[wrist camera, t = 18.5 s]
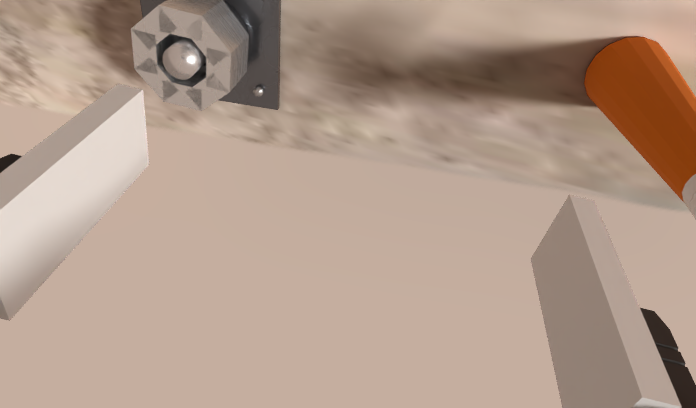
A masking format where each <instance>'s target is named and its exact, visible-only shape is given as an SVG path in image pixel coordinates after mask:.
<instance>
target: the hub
mask: <svg viewBox="0 0 696 408" xmlns="http://www.w3.org/2000/svg"><path fill="white" fill-rule="evenodd" d="M165 1H166V0H140V2H141V9H142V15H143V18H144V17H145V16H146V15H148V14H149V13H150V12H151V11H152V10H153V9H155V8H156V7H157V6H158V5H160V4H161V3H163V2H165ZM223 1H224V2H225V3H226V5H227V6H228V7H229V9H230V10H231V12H232V13H233V14H234V16H235V17H236V18H237V20H238V21H239V22H240V24H241V25H242V26H243V28H244V29H245V30H246V32H247V33H248V34H249V44H248V59H247V72H246V73H245V74H244V76H243V77H242V78H241V79H240V80H239V82H238V83H237V84H236V85H235V86H234V88H233V89H232V90H231V91H230V92H229V93H228V94H226V95H225V96H223V97H222V98H220V99H219V100H220V101H226V102H232V103H238V104H244V105H250V106H257V107H263V108H269V109H275V110H278V109H279V85H280V15H281V0H223ZM163 64H164V67H165V68H166V70H167V71H168V72H169V73H170V74H171V75H172V76H173V77H175V78H178V79H182V80H185V79H189V78H191V77H192V76H193V75H194V74H195V73H196V72H197V71H198V70H199V69H200V68H201V67H202V66H203V65H205V66H206V56H205V55H204V54H203V53H202V51H201V50H200V49H199V48H198V46H197V45H196V44H195V43H194V41H193V40H192V39H190V38H186V37H182V36H180V39H179V40H178V41H177V42H175V43H174V44H173V45H171V46H170V47H169V48H168V49H166V50H165V52H164V54H163Z"/></svg>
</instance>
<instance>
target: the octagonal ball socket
mask: <svg viewBox="0 0 696 408" xmlns="http://www.w3.org/2000/svg"><path fill="white" fill-rule="evenodd" d="M180 36H182V37H186V38H190V39H192V40H193V41H194V43H195V44H196V45H197V46H198V48H199V49H200V50H201V51H202V53H203V54H204V55H205V56H206V66H205V65H203V66H202V67H201V68H200V69H199V70H198V71H197V72H196V73H195V74H194V75H193V76H192V77H191V78H189V79H185V80H182V79H178V78H175V77H173V76H172V75H171V74H170V73H169V72H168V71H167V70H166V68H165V67H164V64H163V54H164V52H165V50H166V49H168V48H169V47H170V46H171V45H173V44H174V43H175V42H177V41H178V40H179V39H180ZM131 37H132V48H133V59H134V69H135V70H136V71H137V72H138V74H139V75H140V76H141V77H142V78H143V79H144V80H145V81H146V82H147V84H148V85H149V86H150V87H151V88H152V89H153V90H154V91H155V93H156V94H157V95H158V96H159V97H160V98H161V99H162V100H163V102H167V103H171V104H175V105H179V106H183V107H187V108H192V109H196V110H200V111H202V110H204V109H205V108H207V107H208V106H210V105H211V104H213V103H214V102H216V101H217V100H219V99H220V98H222V97H223V96H225V95H226V94H228V93H229V92H230V91H231V90H232V89H233V88H234V86H235V85H236V84H237V83H238V82H239V80H240V79H241V78H242V77H243V76H244V74H245V73H246V72H247V59H248V44H249V34H248V33H247V32H246V30H245V29H244V28H243V26H242V25H241V24H240V22H239V21H238V20H237V18H236V17H235V16H234V14H233V13H232V12H231V10H230V9H229V7H228V6H227V5H226V3H225V2H224V1H223V0H166V1H165V2H163V3H161V4H160V5H158V6H157V7H156V8H155V9H153V10H152V11H151V12H150V13H149V14H148V15H146V16H145V17H144V18H143V19H142V20H140V21H139V22H138V23H137V24H136V25H135V26H133V27H132V28H131Z"/></svg>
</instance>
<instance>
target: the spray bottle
mask: <svg viewBox="0 0 696 408" xmlns="http://www.w3.org/2000/svg"><path fill="white" fill-rule="evenodd" d="M584 84H585V88H586V92H587V95H588V97H589V98H590V99H591V100H592V101H593V102H594V103H595V104H596V105H597V107H598V108H599V109H600V110H601V111H602V112H603V113H604V114H605V115H606V117H607V118H608V119H609V120H610V121H611V122H612V123H613V124H614V125H615V127H616V128H617V129H618V130H619V131H620V132H621V133H622V134H623V135H624V136H625V138H626V139H627V140H628V141H629V142H630V143H631V144H632V145H633V146H634V148H635V149H636V150H637V151H638V152H639V153H640V154H641V155H642V156H643V158H644V159H645V160H646V161H647V162H648V163H649V164H650V165H651V166H652V168H653V169H654V170H655V171H656V172H657V173H658V174H659V175H660V176H661V178H662V179H663V180H664V181H665V182H666V183H667V184H668V185H669V186H670V188H671V189H672V190H673V191H674V192H675V193H676V194H677V195H678V196H679V198H680V199H681V200H682V201H683V202H684V203H685V204H686V206H687V207H688V209H689V210H690V212H691V213H692V215H693V216H694V217H695V219H696V97H695V95H694V94H693V92H692V91H691V89H690V88H689V86H688V85H687V83H686V82H685V80H684V79H683V77H682V76H681V74H680V72H679V71H678V69H677V68H676V66H675V65H674V63H673V62H672V60H671V59H670V57H669V56H668V54H667V53H666V52H665V50H664V49H663V48H662V47H661V46H660V45H659V43H658V42H655V41H653V40H650V39H647V38H645V37H632V38H624V39H622V40H619V41H617V42H614V43H611V44H609V45H608V46H607V47H605V48H604V49H603V50H602V51H600V52H599V53H598V54H597V55H596V56H595V57H594V59H593V60H592V62H591V63H590V65H589V67H588V68H587V71H586V76H585V81H584Z"/></svg>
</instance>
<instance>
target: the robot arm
mask: <svg viewBox="0 0 696 408" xmlns="http://www.w3.org/2000/svg"><path fill="white" fill-rule="evenodd" d="M148 165H149V158H148V146H147V134H146V121H145V109H144V97H143V89H139V88H135V87H130V86H126V85H122V84H117V85H115V86H114V87H113V88H111V89H110V90H109V91H108V92H106V93H105V94H104V95H102V96H101V97H100V98H98V99H97V100H96V101H94V102H93V103H92V104H90V105H89V106H88V107H86V108H85V109H84V110H83V111H81V112H80V113H79V114H77V115H76V116H75V117H73V118H72V119H71V120H69V121H68V122H67V123H66V124H64V125H63V126H62V127H60V128H59V129H58V130H56V131H55V132H54V133H52V134H51V135H50V136H48V137H47V138H46V139H44V140H43V141H42V142H40V143H39V144H38V145H37V146H35V147H34V148H33V149H31V150H30V151H29V152H27V153H26V154H25V155H24V156H18V155H15V154H10V155H7V156H5V157H2V158H0V318H1V319H5V320H11V318H13V316H14V315H15V314H16V313H17V312H18V311H19V310H20V309H21V307H22V306H23V305H24V304H25V303H26V302H27V301H28V300H29V298H30V297H31V296H32V295H33V294H34V293H35V292H36V291H37V290H38V288H39V287H40V286H41V285H42V284H43V283H44V282H45V281H46V279H47V278H48V277H49V276H50V275H51V274H52V273H53V272H54V270H55V269H56V268H57V267H58V266H59V265H60V264H61V263H62V261H63V260H64V259H65V258H66V257H67V256H68V255H69V254H70V253H71V251H72V250H73V249H74V248H75V247H76V246H77V245H78V244H79V242H80V241H81V240H82V239H83V238H84V237H85V236H86V235H87V234H88V232H89V231H90V230H91V229H92V228H93V227H94V226H95V225H96V223H97V222H98V221H99V220H100V219H101V218H102V217H103V216H104V214H105V213H106V212H107V211H108V210H109V209H110V208H111V207H112V205H113V204H114V203H115V202H116V201H117V200H118V199H119V198H120V196H121V195H122V194H123V193H124V192H125V191H126V190H127V189H128V188H129V187H130V185H131V184H132V183H133V182H134V181H135V180H136V179H137V178H138V176H139V175H140V174H141V173H142V172H143V171H144V170H145V169H146V168H147V166H148ZM531 262H532V267H533V272H534V276H535V281H536V286H537V290H538V295H539V300H540V304H541V309H542V314H543V318H544V323H545V328H546V332H547V337H548V342H549V347H550V351H551V356H552V361H553V365H554V370H555V375H556V380H557V384H558V389H559V394H560V398H561V403H562V408H696V385H695V383H694V381H693V379H692V376H691V374H690V372H689V370H688V368H687V367H685V361H684V359H683V357H682V355H681V353H680V352H678V347H677V344H676V342H675V340H674V338H673V336H672V333H671V331H670V329H669V328H668V327H667V326H666V325H665V323H664V322H663V321H662V320H661V319H660V318H659V316H658V315H657V314H656V313H655V312H654V311H651V310H647V309H643V308H640V307H639V305H638V302H637V300H636V298H635V295H634V293H633V291H632V288H631V286H630V284H629V281H628V279H627V276H626V274H625V272H624V269H623V267H622V265H621V262H620V260H619V258H618V255H617V253H616V250H615V248H614V246H613V243H612V241H611V238H610V236H609V234H608V231H607V229H606V227H605V224H604V222H603V220H602V217H601V215H600V213H599V210H598V208H597V205H596V203H595V201H594V200H590V199H586V198H582V197H578V196H574V195H569V196H568V198H567V199H566V201H565V203H564V204H563V206H562V208H561V209H560V211H559V213H558V214H557V216H556V218H555V219H554V221H553V223H552V224H551V226H550V228H549V229H548V231H547V233H546V234H545V236H544V238H543V239H542V241H541V243H540V244H539V246H538V248H537V250H536V251H535V253H534V254H533V256H532V258H531Z"/></svg>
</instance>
